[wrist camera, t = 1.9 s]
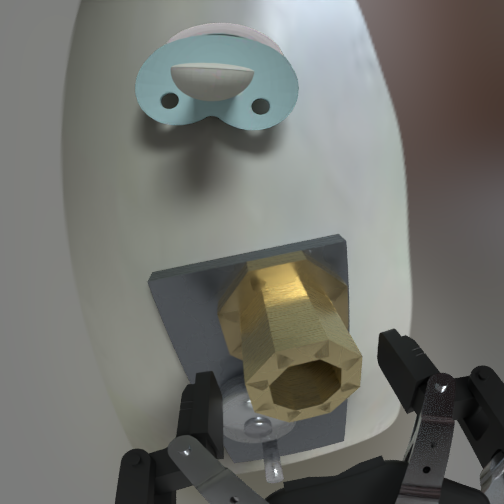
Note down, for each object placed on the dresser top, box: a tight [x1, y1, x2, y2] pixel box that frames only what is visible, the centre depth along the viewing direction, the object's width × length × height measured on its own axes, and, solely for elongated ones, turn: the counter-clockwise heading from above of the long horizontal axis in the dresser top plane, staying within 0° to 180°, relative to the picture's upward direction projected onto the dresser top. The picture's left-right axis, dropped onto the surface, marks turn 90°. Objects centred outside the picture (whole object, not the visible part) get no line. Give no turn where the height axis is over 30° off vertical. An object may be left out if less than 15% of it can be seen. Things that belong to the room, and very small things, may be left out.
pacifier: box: [135, 23, 299, 130], centre depth 10 cm, size 7×6×6 cm
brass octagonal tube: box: [217, 251, 362, 422], centre depth 14 cm, size 7×7×6 cm
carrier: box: [148, 234, 349, 483], centre depth 18 cm, size 21×11×5 cm, turn 11°
